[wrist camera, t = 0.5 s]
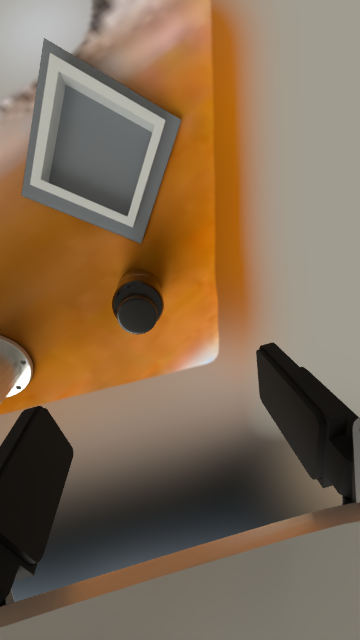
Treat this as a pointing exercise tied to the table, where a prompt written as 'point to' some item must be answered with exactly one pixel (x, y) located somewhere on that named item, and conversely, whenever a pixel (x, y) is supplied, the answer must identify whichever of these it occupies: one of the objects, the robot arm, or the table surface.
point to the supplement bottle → (138, 301)
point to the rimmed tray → (95, 146)
